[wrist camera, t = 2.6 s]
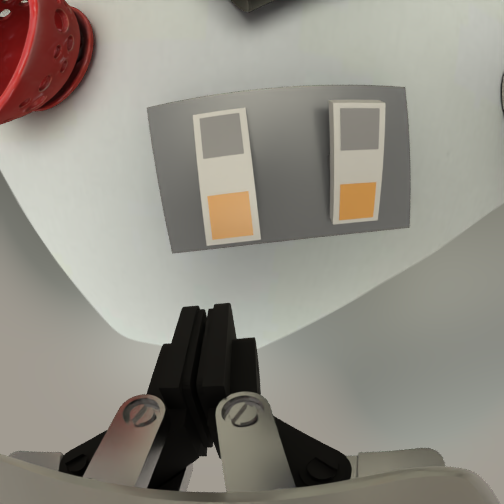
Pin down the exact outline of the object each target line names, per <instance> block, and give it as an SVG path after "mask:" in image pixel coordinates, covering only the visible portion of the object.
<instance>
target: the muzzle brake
mask: <svg viewBox="0 0 504 504" xmlns="http://www.w3.org/2000/svg"><path fill="white" fill-rule="evenodd" d="M231 1H232V2H233V3H234V4H235V5H236V6H237V7H238V8H240V9H241V10H243V11H245V12H251V11H253V10H255V9H257V8H259V7H261V6H263V5H265V4H267V3H270V2H272V1H274V0H231Z"/></svg>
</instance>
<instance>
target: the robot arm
mask: <svg viewBox="0 0 504 504" xmlns="http://www.w3.org/2000/svg"><path fill="white" fill-rule="evenodd" d="M502 102H503V108H504V77H503V83H502ZM213 442H214V445H215V447H216V450H217V453H218V455H219V458H220V459H221V460H222V466H223V473H224V480H225V486H226V492H224V493H215V492H214V493H213V492H186V491H187V487H188V484H189V481H190V477H191V474H192V471H193V464H192V463H193V462H194V461H195V460H197V459H198V458H199V456H207V447H212V446H213ZM0 504H500V502H499V500H498V499H497V497H496V496H495V494H494V492H493V491H492V489H491V488H490V487H489V485H488V484H487V483H486V482H485V481H484V480H483V479H482V478H481V477H480V476H479V475H477V474H476V473H474V472H472V471H470V470H467V469H462V468H456V467H445V462H444V460H443V457H442V456H441V455H440V454H439V453H438V452H437V451H435V450H433V449H430V448H416V449H406V450H396V451H382V452H364V453H363V452H360V453H358V456H345V455H344V454H342V453H340V452H339V451H337V450H335V449H333V448H331V447H329V446H327V445H325V444H323V443H321V442H320V441H318V440H316V439H314V438H312V437H310V436H308V435H306V434H304V433H303V432H301V431H299V430H297V429H295V428H294V427H292V426H290V425H288V424H286V423H284V422H283V421H281V420H280V419H277V418H276V417H274V416H273V414H272V410H271V408H270V405H269V403H268V401H267V400H266V399H265V398H264V397H263V396H261V392H260V376H259V365H258V356H257V348H256V341H255V337H254V338H243V339H236V333H235V327H234V321H233V315H232V309H231V304H230V303H224V304H214V309H209V310H208V315H207V316H206V312H205V310H204V309H202V310H200V308H199V306H189V307H183V308H182V310H181V313H180V317H179V320H178V323H177V326H176V329H175V333H174V336H173V339H172V343H171V344H163V346H162V348H161V351H160V354H159V357H158V360H157V363H156V366H155V369H154V372H153V375H152V378H151V382H150V385H149V388H148V391H147V394H146V395H145V394H142V395H138V396H134V397H132V398H130V399H128V400H127V401H126V402H124V403H123V405H122V406H121V407H120V408H119V410H118V412H117V414H116V415H115V417H114V419H113V421H112V423H111V425H110V426H109V428H108V430H106V431H105V432H103V433H101V434H99V435H97V436H96V437H94V438H92V439H90V440H88V441H87V442H85V443H83V444H81V445H79V446H77V447H76V448H74V449H72V450H70V451H69V452H67V453H66V454H65V455H63V454H62V453H61V452H29V451H17V452H14V453H12V454H10V455H9V456H6V455H2V454H0Z"/></svg>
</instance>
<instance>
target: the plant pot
mask: <svg viewBox="0 0 504 504" xmlns="http://www.w3.org/2000/svg"><path fill="white" fill-rule="evenodd" d="M21 1H23V0H0V13H1V12H2V11H3V10H7V9H8V10H10V11H11V12H10V13H9V14H8V15H7V16H5V17H0V124H3V123H6V122H9V121H12V120H14V119H17V118H20V117H23V116H25V115H27V114H29V113H31V112H33V111H43V110H47V109H50V108H52V107H54V106H56V105H57V104H59V103H61V102H62V101H63V100H64V99H66V98H67V97H68V96H69V95H70V94H71V93H72V92H73V91H74V90H75V88H76V87H77V86H78V84H79V83H80V82H81V80H82V78H83V77H84V75H85V73H86V71H87V68H88V65H89V63H90V60H91V57H92V52H93V31H92V27H91V24H90V22H89V20H88V19H87V17H86V16H85V15H84V14H83V13H82V12H81V11H80V10H78V9H76V8H74V7H71V6H69V5H68V4H67V2H66V1H65V0H26V1H28V2H26V3H22V2H21Z"/></svg>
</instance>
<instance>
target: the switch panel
mask: <svg viewBox="0 0 504 504" xmlns="http://www.w3.org/2000/svg"><path fill="white" fill-rule="evenodd" d="M329 100H380V101H382V102H384V103H385V137H384V156H383V171H382V183H381V194H380V204H379V213H378V220H375V221H365V222H354V223H344V224H334V225H333V223H332V221H331V219H330V126H329ZM237 108H246V116H247V124H248V132H249V141H250V149H251V157H252V166H253V174H254V183H255V191H256V200H257V209H258V217H259V226H260V235H261V240H254V241H245V242H236V243H227V244H219V245H210V246H207V244H206V236H205V228H204V220H203V212H202V203H201V194H200V185H199V176H198V166H197V156H196V146H195V135H194V124H193V115H197V114H203V113H209V112H215V111H222V110H230V109H237ZM147 113H148V120H149V128H150V134H151V141H152V148H153V154H154V160H155V166H156V172H157V178H158V184H159V189H160V195H161V200H162V205H163V210H164V216H165V221H166V225H167V230H168V235H169V240H170V245H171V249H172V253H181V252H190V251H198V250H207V249H216V248H225V247H234V246H243V245H252V244H260V243H270V242H279V241H288V240H297V239H306V238H315V237H325V236H334V235H343V234H353V233H362V232H372V231H381V230H391V229H401V228H409V224H410V143H409V125H408V112H407V101H406V91H405V87H395V86H375V85H313V86H293V87H278V88H266V89H256V90H247V91H238V92H231V93H223V94H216V95H210V96H204V97H198V98H192V99H186V100H181V101H176V102H171V103H166V104H162V105H157V106H152V107H148V108H147Z"/></svg>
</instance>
